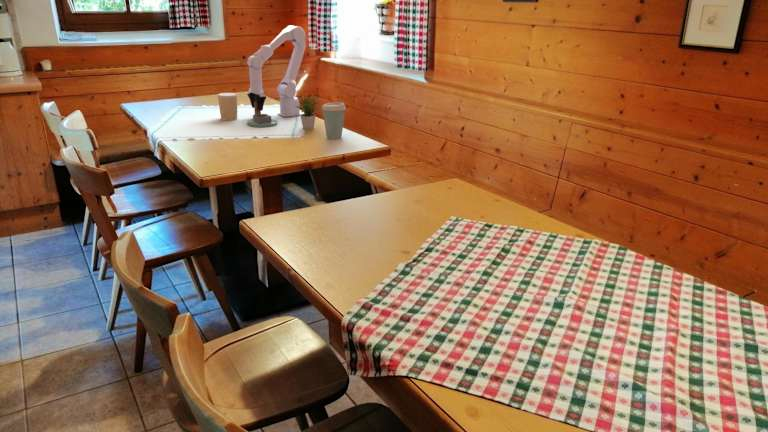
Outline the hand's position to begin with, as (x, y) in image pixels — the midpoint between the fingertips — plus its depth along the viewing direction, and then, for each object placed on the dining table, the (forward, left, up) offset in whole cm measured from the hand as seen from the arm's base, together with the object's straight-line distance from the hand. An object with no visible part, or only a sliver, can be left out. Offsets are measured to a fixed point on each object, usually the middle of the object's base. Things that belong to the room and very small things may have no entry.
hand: (257, 109), depth 280 cm
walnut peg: (0, 0, -5) cm, 5 cm away
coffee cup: (+13, -5, -5) cm, 15 cm away
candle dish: (+3, +13, -5) cm, 14 cm away
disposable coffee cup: (-15, +51, -5) cm, 53 cm away
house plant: (-12, +32, -5) cm, 35 cm away
